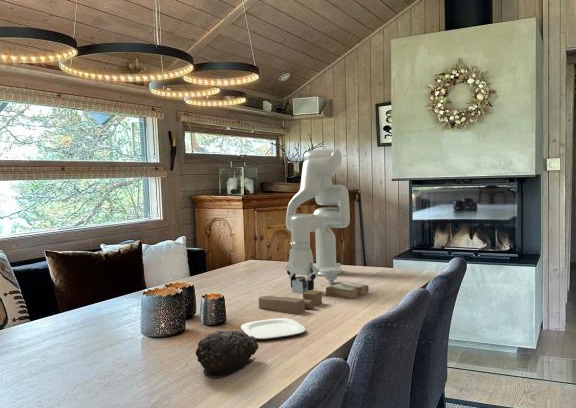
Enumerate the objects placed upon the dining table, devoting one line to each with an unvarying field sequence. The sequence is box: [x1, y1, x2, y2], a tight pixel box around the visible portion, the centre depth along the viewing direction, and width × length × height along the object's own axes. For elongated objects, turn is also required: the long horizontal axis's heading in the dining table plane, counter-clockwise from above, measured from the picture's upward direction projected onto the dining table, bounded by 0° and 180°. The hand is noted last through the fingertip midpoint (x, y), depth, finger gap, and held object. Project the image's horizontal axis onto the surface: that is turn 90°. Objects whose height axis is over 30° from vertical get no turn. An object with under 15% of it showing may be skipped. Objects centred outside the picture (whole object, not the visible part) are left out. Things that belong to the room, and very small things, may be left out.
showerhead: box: [320, 267, 343, 285], centre depth 224 cm, size 9×7×10 cm
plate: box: [240, 317, 306, 340], centre depth 158 cm, size 18×18×2 cm
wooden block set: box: [258, 290, 323, 315], centre depth 187 cm, size 17×6×18 cm
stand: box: [325, 281, 369, 300], centre depth 203 cm, size 12×12×3 cm
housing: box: [291, 275, 314, 295], centre depth 210 cm, size 7×6×6 cm
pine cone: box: [195, 330, 260, 379], centre depth 129 cm, size 10×18×10 cm, turn 151°
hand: (302, 288), depth 210 cm, fingers open, 8 cm apart
